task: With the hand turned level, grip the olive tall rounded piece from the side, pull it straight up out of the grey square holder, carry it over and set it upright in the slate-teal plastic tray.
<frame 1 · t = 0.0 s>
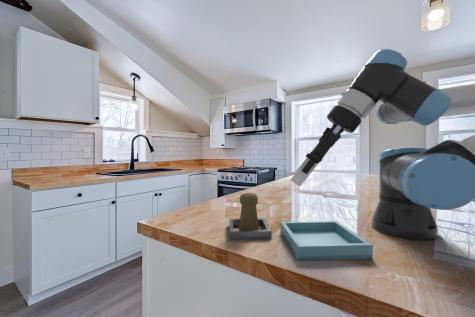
hand: (296, 179, 60), 15 cm above the counter, tool tilted 35°, fingers open, 13 cm apart
olive tall rounded piece: (248, 232, 64), resting in grey square holder
tray: (320, 243, 56), on the counter
grey square holder: (248, 231, 64), on the counter
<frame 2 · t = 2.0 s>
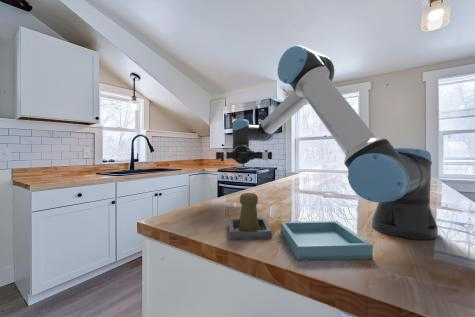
hand: (245, 156, 73), 21 cm above the counter, tool horizontal, fingers open, 13 cm apart
nothing on the counter moved.
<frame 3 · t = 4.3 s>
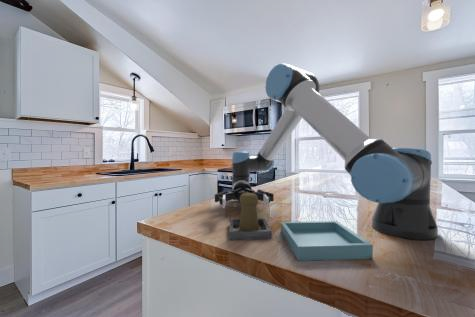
hand: (245, 203, 69), 7 cm above the counter, tool horizontal, fingers open, 13 cm apart
nothing on the counter moved.
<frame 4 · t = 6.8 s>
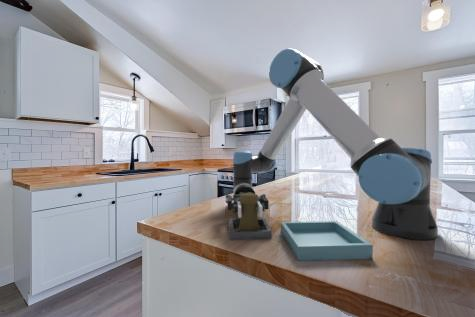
hand: (250, 212, 59), 7 cm above the counter, tool horizontal, fingers closed on olive tall rounded piece, 5 cm apart
olive tall rounded piece: (248, 232, 64), resting in grey square holder, touching gripper
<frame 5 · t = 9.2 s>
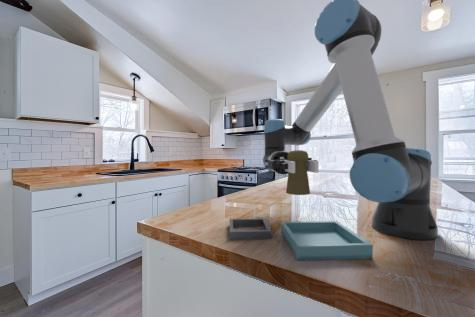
hand: (305, 167, 53), 19 cm above the counter, tool horizontal, fingers closed on olive tall rounded piece, 5 cm apart
olive tall rounded piece: (297, 193, 58), point 12 cm above the counter, touching gripper
when the fingers open (9 cm above the counter, at t = 11.7 s): olive tall rounded piece drops 1 cm, resting on tray.
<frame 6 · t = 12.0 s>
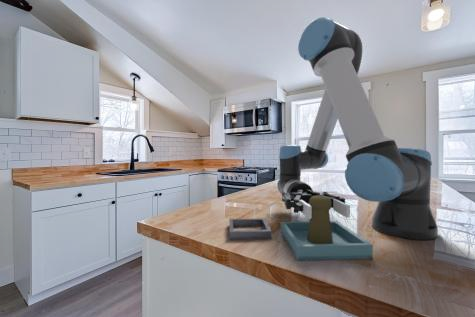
hand: (329, 211, 50), 9 cm above the counter, tool horizontal, fingers open, 8 cm apart
olive tall rounded piece: (319, 240, 56), point 1 cm above the counter, touching tray
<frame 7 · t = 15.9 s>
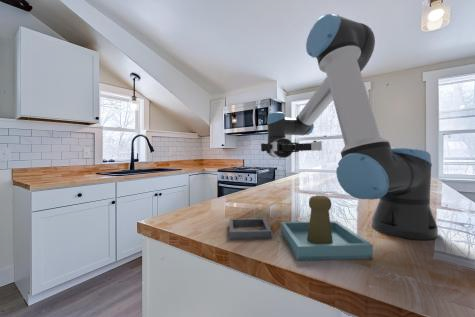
hand: (298, 146, 68), 24 cm above the counter, tool horizontal, fingers open, 13 cm apart
nothing on the counter moved.
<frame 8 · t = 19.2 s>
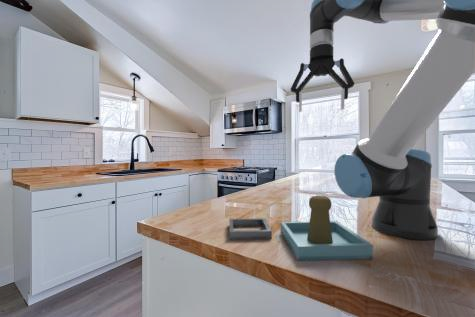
hand: (320, 110, 78), 37 cm above the counter, tool pointing down, fingers open, 13 cm apart
nothing on the counter moved.
at the end: olive tall rounded piece inside the target area on the tray (0.2 cm from its centre), point 0.6 cm above the tray's base; olive tall rounded piece tilted 0°; the gripper is holding nothing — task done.
